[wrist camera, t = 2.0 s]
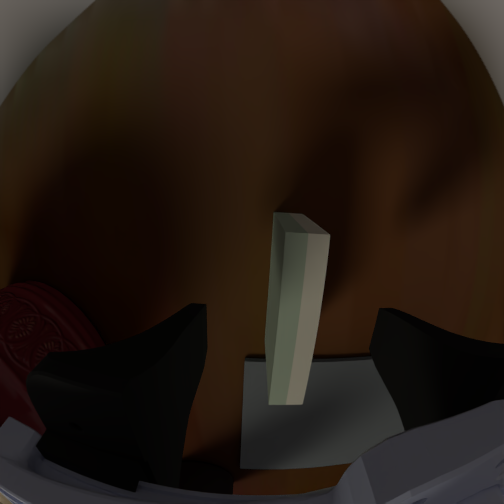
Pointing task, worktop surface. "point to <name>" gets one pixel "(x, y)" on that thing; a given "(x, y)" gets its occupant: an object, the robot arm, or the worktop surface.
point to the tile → (293, 304)
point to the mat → (316, 416)
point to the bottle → (205, 478)
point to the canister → (35, 343)
